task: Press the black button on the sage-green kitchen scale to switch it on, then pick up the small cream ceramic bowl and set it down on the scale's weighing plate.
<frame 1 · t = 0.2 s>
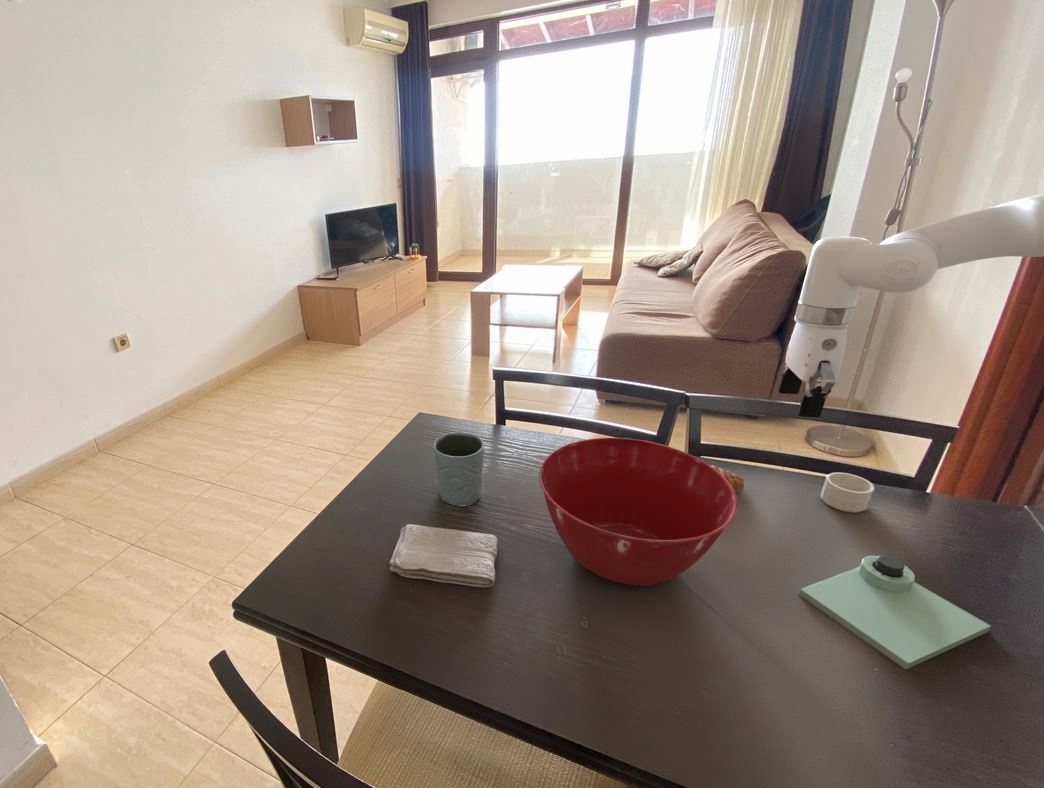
hand: (797, 404, 98), 18 cm above the table, tool pointing down, fingers open, 9 cm apart
grey green cup: (459, 494, 112), on the table
washcloth: (445, 560, 95), on the table
scale: (888, 612, 77), on the table
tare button: (889, 566, 81), point 4 cm above the table, slide at 0.1 cm
bowl: (842, 503, 100), on the table
pastry: (710, 485, 108), on the table
mixing bowl: (621, 557, 92), on the table
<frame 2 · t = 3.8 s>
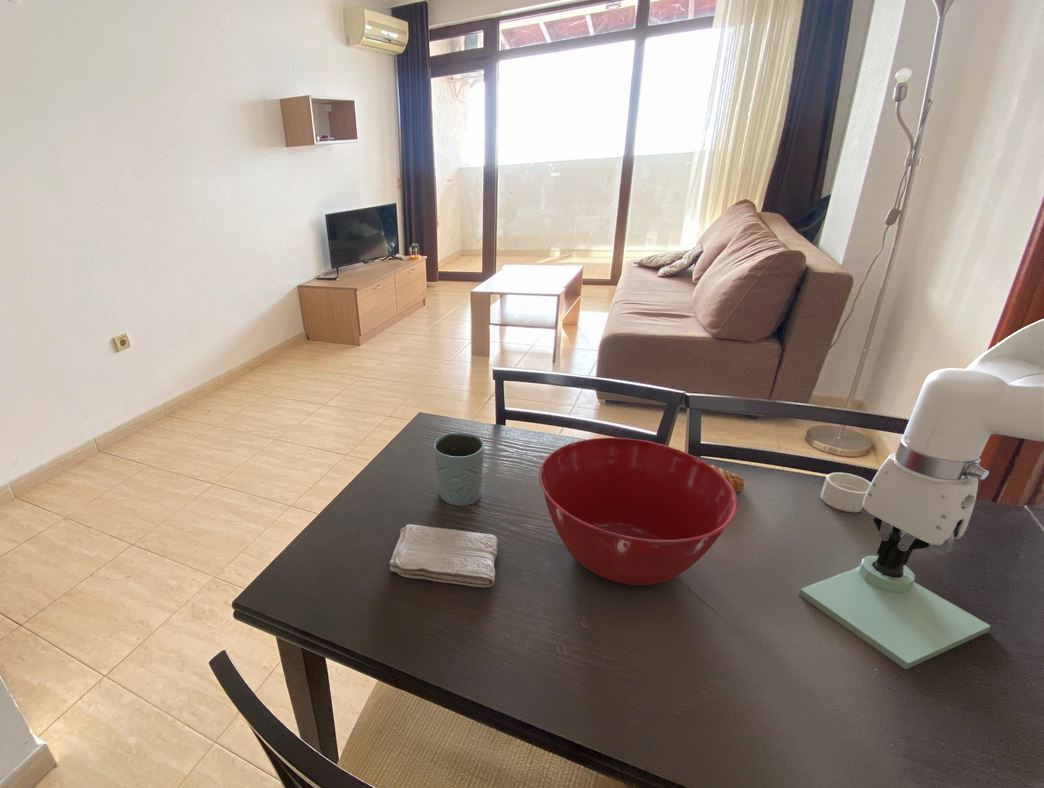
hand: (889, 563, 80), 4 cm above the table, tool pointing down, fingers closed
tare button: (888, 568, 81), point 3 cm above the table, slide at -0.2 cm, touching gripper
everything else where it was.
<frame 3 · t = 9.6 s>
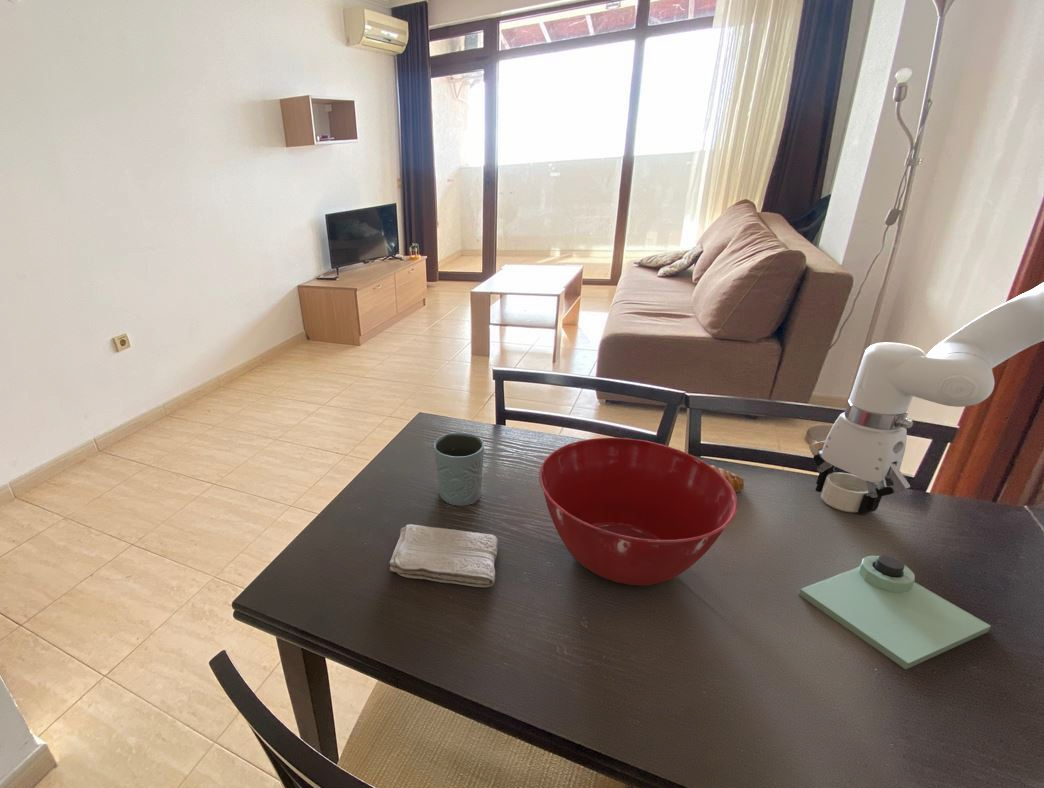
hand: (843, 499, 99), 1 cm above the table, tool pointing down, fingers closed on bowl, 6 cm apart
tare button: (889, 566, 81), point 4 cm above the table, slide at 0.1 cm
bowl: (842, 503, 100), on the table, touching gripper
everything else where it was.
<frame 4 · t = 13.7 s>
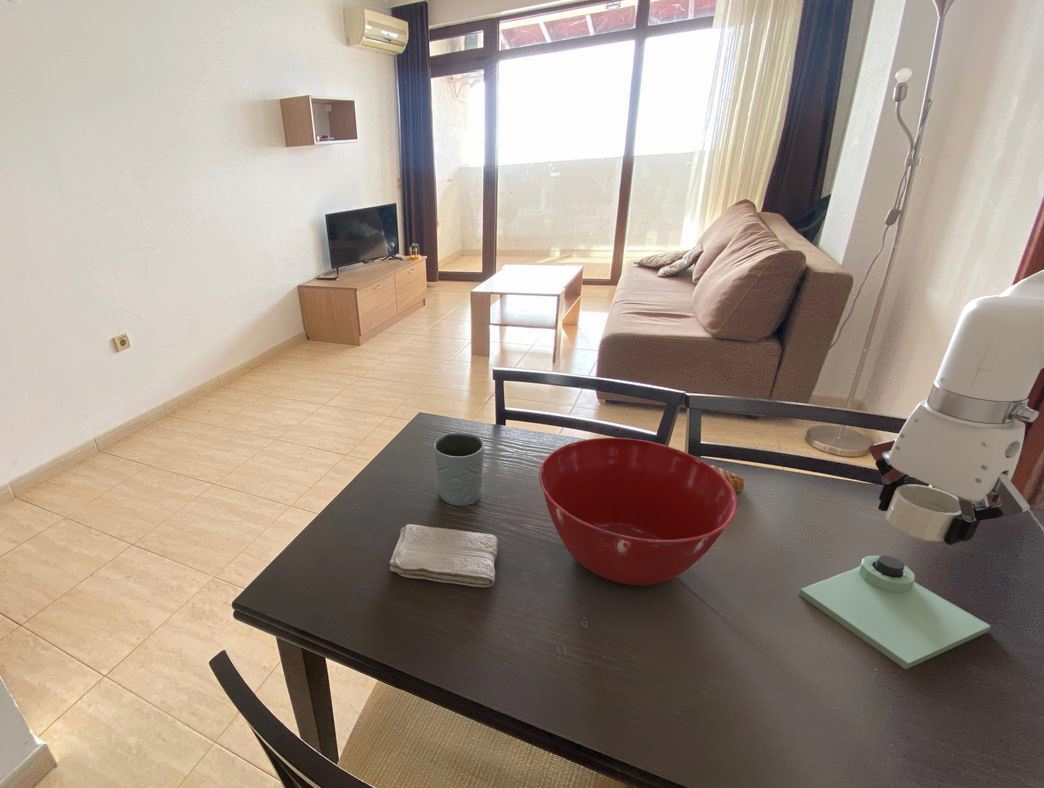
hand: (920, 522, 71), 16 cm above the table, tool pointing down, fingers closed on bowl, 6 cm apart
bowl: (918, 527, 71), point 15 cm above the table, touching gripper
everything else where it was.
when the fingers open (2 cm above the table, at t = 17.6 s): bowl stays where it is, resting on scale.
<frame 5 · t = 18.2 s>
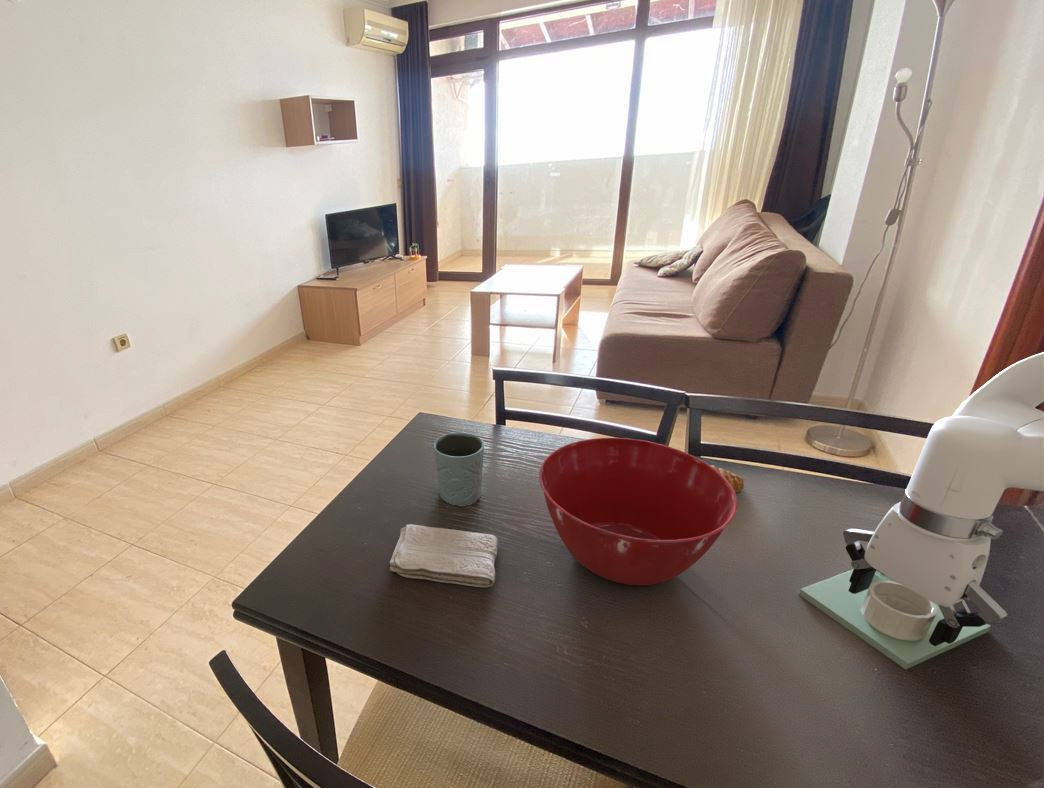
hand: (896, 614, 74), 3 cm above the table, tool pointing down, fingers open, 9 cm apart
bowl: (891, 623, 74), point 1 cm above the table, touching scale
everything else where it was.
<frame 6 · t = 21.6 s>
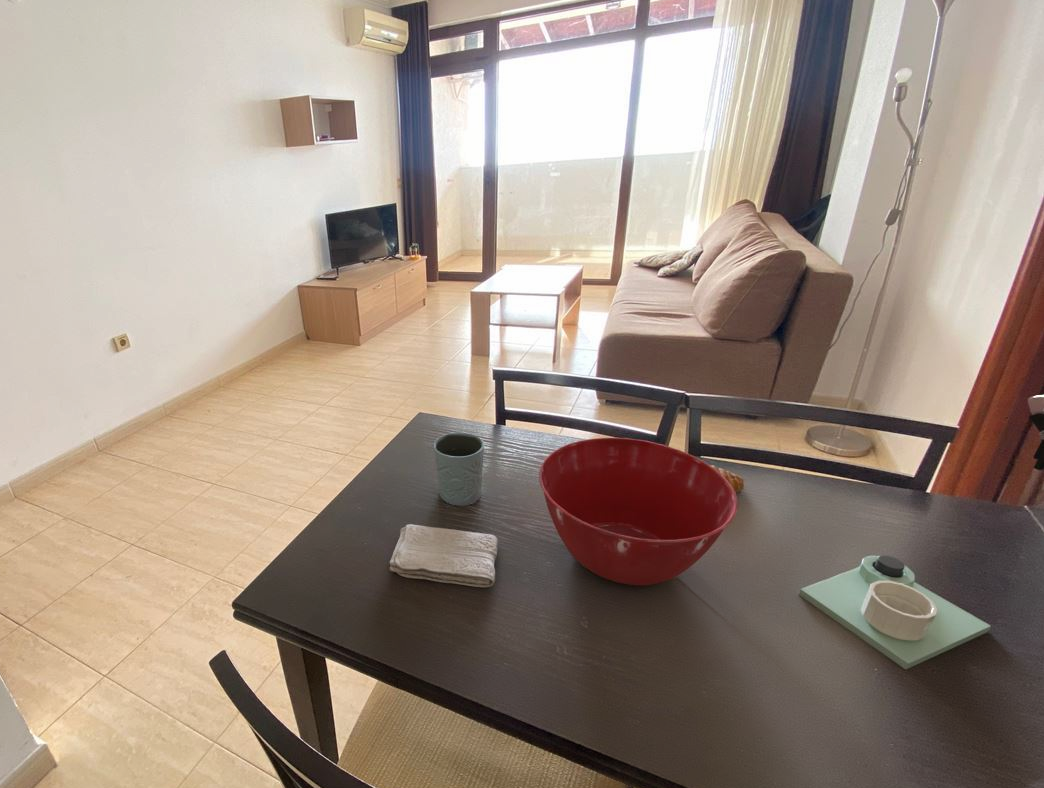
nothing on the table moved.
at the end: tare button pushed in 1.1 cm at the most during the clip, back to where it started at the end; bowl inside the target area on the scale (3.7 cm from its centre), point 1.2 cm above the scale's base; bowl touching scale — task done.
